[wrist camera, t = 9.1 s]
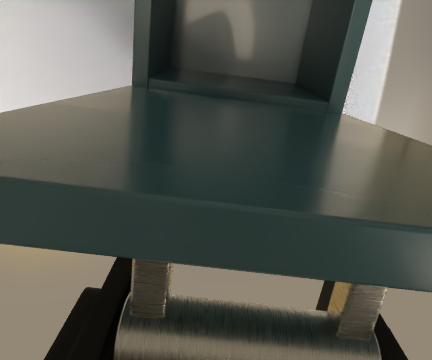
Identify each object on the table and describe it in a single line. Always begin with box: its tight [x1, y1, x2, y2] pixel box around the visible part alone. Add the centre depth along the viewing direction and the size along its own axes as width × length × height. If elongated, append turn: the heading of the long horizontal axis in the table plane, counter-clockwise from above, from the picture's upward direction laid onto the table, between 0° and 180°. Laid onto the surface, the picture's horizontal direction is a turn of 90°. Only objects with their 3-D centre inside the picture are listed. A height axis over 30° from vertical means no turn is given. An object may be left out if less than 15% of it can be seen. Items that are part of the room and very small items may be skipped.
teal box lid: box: [0, 86, 432, 360], centre depth 11 cm, size 14×11×5 cm
